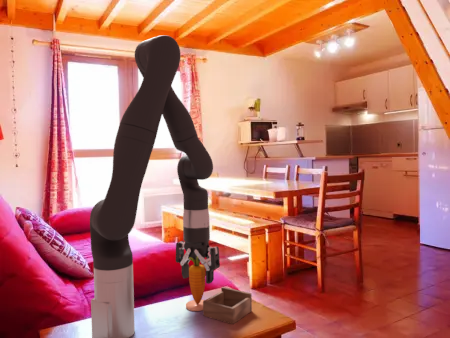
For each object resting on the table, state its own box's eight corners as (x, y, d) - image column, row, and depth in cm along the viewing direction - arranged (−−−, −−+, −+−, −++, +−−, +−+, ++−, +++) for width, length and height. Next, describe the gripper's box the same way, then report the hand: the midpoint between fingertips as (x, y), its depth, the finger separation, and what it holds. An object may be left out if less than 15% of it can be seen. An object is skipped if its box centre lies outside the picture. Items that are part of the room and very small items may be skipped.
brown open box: (233, 324, 97) (232, 305, 97) (203, 315, 102) (203, 297, 102) (251, 310, 105) (251, 293, 105) (223, 303, 110) (222, 286, 110)
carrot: (203, 308, 106) (202, 255, 105) (186, 306, 107) (185, 254, 106) (208, 301, 111) (207, 250, 110) (191, 300, 112) (191, 250, 111)
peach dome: (200, 313, 104) (200, 311, 104) (180, 307, 108) (180, 305, 108) (214, 304, 110) (214, 302, 110) (196, 299, 114) (196, 297, 114)
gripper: (168, 224, 109) (170, 279, 109) (208, 229, 101) (209, 288, 101) (185, 220, 115) (186, 272, 116) (224, 224, 107) (225, 280, 108)
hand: (197, 280), depth 108 cm, fingers open, 8 cm apart
